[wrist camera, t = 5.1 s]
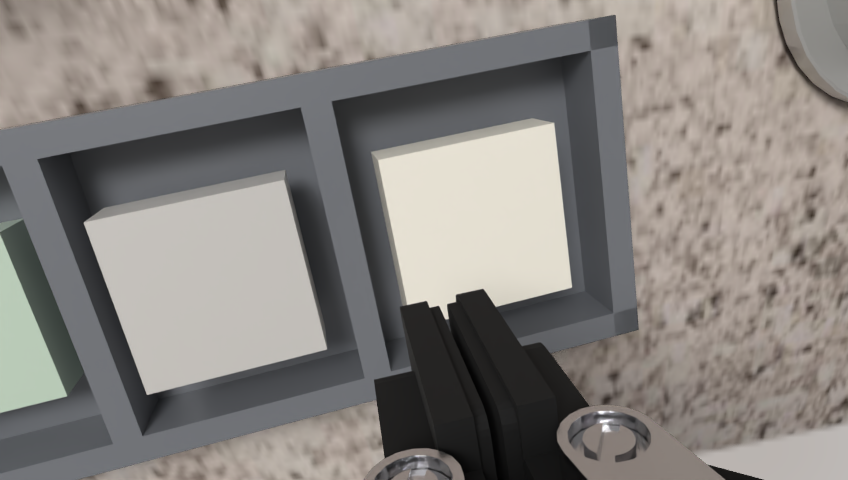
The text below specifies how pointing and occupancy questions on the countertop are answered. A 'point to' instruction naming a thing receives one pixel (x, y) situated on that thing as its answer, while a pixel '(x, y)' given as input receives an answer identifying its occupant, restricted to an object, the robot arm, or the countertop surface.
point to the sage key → (30, 327)
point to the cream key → (476, 214)
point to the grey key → (209, 280)
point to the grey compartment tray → (308, 228)
